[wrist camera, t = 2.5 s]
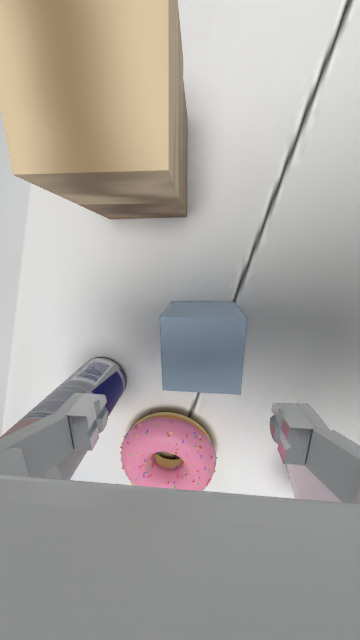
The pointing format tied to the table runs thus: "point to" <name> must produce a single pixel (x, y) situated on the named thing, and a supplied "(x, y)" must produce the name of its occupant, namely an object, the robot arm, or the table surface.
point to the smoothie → (308, 485)
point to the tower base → (152, 209)
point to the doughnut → (174, 438)
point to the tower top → (94, 98)
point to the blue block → (202, 347)
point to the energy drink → (87, 379)
